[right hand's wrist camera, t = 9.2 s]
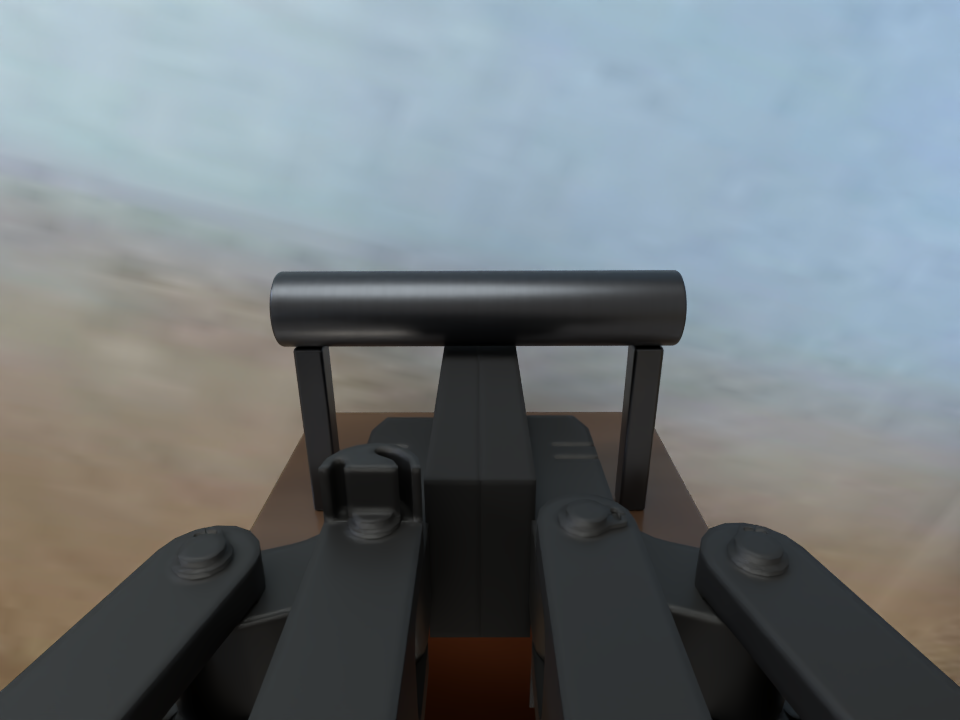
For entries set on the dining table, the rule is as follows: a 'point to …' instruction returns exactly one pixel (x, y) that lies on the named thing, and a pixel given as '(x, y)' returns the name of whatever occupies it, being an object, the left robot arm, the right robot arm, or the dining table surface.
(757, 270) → the dining table surface
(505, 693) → the drawer
